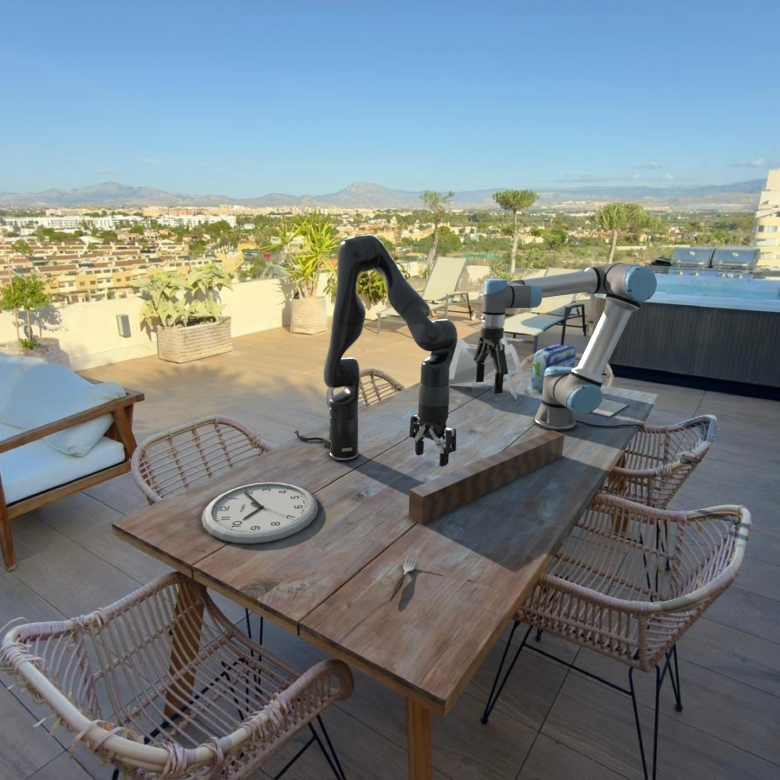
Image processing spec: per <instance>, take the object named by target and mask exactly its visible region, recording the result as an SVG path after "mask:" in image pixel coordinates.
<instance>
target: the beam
mask: <svg viewBox="0 0 780 780" xmlns="http://www.w3.org/2000/svg"><path fill="white" fill-rule="evenodd" d="M565 436H566V434H564V433H561V432H560V431H554V430H549V431H547V432H544V433H541V434H539V435H536V436H534V437H532V438H529V439H527V440H525V441H522V442H520V443H518V444H515V445H513V446H510V447H507V448H506V449H503V450H501V451H499V452H496V453H493V454H491V455H488V456H486V457H484V458H481V459H479V460H477V461H475V462H472V463H470V464H468V465H465V466H463V467H460V468H458V469H455V470H453V471H451V472H448V473H446V474H443V475H441V476H439V477H436V478H434V479H432V480H429V481H426V482H424V483H422V484H420V485H417V486H415V487H411V488H410V489H409V493H408V517H409V518H410V519H412V520H414V521H415V522H417V523H418V524H419V525H424V524H426V523H429V522H430V521H432V520H434V519H436V518H438V517H441V516H442V515H444V514H446V513H449V512H451V511H453V510H455V509H456V508H459V507H461V506H463V505H465V504H467V503H470V502H471V501H473V500H476V499H477V498H480V497H481V496H484V495H485V494H487V493H490V492H492V491H494V490H496V489H498V488H500V487H502V486H505V485H506V484H508V483H510V482H513V481H514V480H516V479H518V478H520V477H521V478H522V476H524V475H526V474H529V473H531V472H533V471H535V470H537V469H539V468H542V467H543V466H545V465H547V464H549V463H551V462H553V461H556V460H558V459H559V458H562V457H563V454H564V445H565Z"/></svg>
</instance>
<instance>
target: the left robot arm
mask: <svg viewBox="0 0 780 780" xmlns="http://www.w3.org/2000/svg"><path fill="white" fill-rule="evenodd" d="M336 269H337V273H336V278H337V279H336V289H335V300H334V306H333V311H332V319H331V329H330V337H329V344H328V347H327V348H328V349H327V353H326V357H325V361H324V366H323V381H324V384H325V385H326V387H328V388H330V389H341V388H344V389H342V390H341V391H340V392H339V393H336V394H334V395H332V396H331V397H330V398H329V402H328V405H329V406H328V408H329V409H328V410H329V427H328V438H327V439H325V438H323V437H319V436H316V437H301V436H300V433H299V430H297V429H296V430H294V432H293V434H295V435H296V437H297V438H298V439H299V440H301V441H322V442H323V447H324V448H326V447H327V448H328V449H329V457H330V459H332V460H334V461H337V462H351V461H353V460H356V459H357V458H358V457H359V399H360V397H359V396H360V395H359V394H360V375H361V373H360V371H361V369H360V364H359V362H358V360H357V358H355V357H343V356H344V355H345V354H346V352H347V351H348V350H349V349H350V348H351V347H352V346H353V344H354V343H356V341H357V340H358V339H359V338H360V336H361V335H362V333H363V330H364V326H365V321H366V316H367V315H366V313H367V312H366V307H365V305H364V303H363V301H362V298H361V297H360V295H359V294H358V291H357V286H358V285H357V284H358V278H359V275H360V274H362V273H366V272H371V271H376V272H377V273H378V274H379V275H380V276H381V277H382V278H383V280H384V282H385V290H386V296H387V300H388V302H389V304H390V306H391V307H392V309H393V310H394V312H395V313H397V314H398V316H399V317H400V318H401V319H402V320H403V321H404V322H405V324H406V326H407V328H408V331H409V332H410V335H411V336H412V339H413V341H414V342H415V344H416V345H417V346H418V347H419V348H420V349H422V350H423V351H425V352H430V354H429V356H428V357H426V358H424V360H423V361H422V362H421V363H420V364H421V365H420V378H419V379H420V382H419V383H420V384H419V389H418V408H417V409H418V411H417V414H415V415H411V416H410V422H409V437H410V438H411V439H412V438H413V440H414V445H415V446H414V452H415V455H416V456H422V455H423V454H424V451H425V449H424V448H425V441H424V439H430V440H431V441H433V442H434V443H435V445H436V447H438V449H439V451H440V452H439V463H438V465H439V467H441V468H444V467H445V466H447V465H448V464H449V460H450V459H449V458H450V454H451V453H453V452H456V451H457V429H456V428H455V427H454V428H449V427H447V420H448V419H449V409H450V385H449V369H450V365H451V362H452V359H453V355H454V352H455V348H456V345H457V339H458V337H459V336H458V330H457V327H456V325H455V323H454V322H453V321H452V320H450V319H446V318H442V319H435V320H430V318H429V316H430V314H431V307H430V305H429V304H428V303H427V302H426V300H425V299H424V298H423V297H422V296H421V295H420V294H419V293H418V291H416V289H415V288H414V287H413V286H412V285H411V284H410V282H408V280H407V279H406V277H405V276H404V274H403V272H402V271H401V270H400V268H399V266H398V264H397V263H396V262H395V260H394V258H393V257H392V255H391V254H390V252H389V251H388V250H387V248H386V246H385V245H384V243H383V242H382V241H381V239H380V238H378V237H377V236H376V235H374V234H361V235H358V236H353V237H352V236H351V237H348V238H345V239H343V240H342V241H341V242H340V244H339V248H338V252H337V268H336ZM440 439H441V440H440Z"/></svg>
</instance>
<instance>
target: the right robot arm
mask: <svg viewBox="0 0 780 780" xmlns="http://www.w3.org/2000/svg"><path fill="white" fill-rule="evenodd" d="M657 286H658V280H657V277H656V274H655V272H654V271H653V270H652V268H650V267H648V266H645V265H642V264H634V263H633V264H632V263H623V262H613V263H607V264H602V265H596V266H590V267H586V269H584V270H583V271H582V270H581V271H575V272H568V273H559V274H552V275H545V276H536V277H530V278H521V279H515V280H508V279H504V278H488V279H486V280H485V281H484V283H483V290H482V309H481V317H480V320H481V327H480V336H479V337H478V343H477V345H476V346H477V350H476V353H475V356H474V361H476V364H477V369H476V382H477V383H484V378H485V377H484V367H485V364H482V363H484V362H485V359H486V357H487V356H488V354H490V356H491V357H492V359H493V362H494V366H495V369H494V370H495V373H494V383H493V384H494V385H493V394H494V395H498V394H503V388H504V387H503V386H504V376H505V374H508V369H507V365H508V362H507V363H506V356H505V345H504V344H502V343H500V341H501V339H502V338H503V335H504V334H505V328H504V326H505V320H506V309H535V308H538V307H540V305H541V304H542V300H543V299H544V298H552V297H560V296H567V295H575V294H582V293H586V294H587V295H597V294H598V295H605V297H604V299H605V301H606V305H605V307H604V310H603V312H602V314H601V315H600V318H599V320H598V322H597V324H596V326H595V329H594V331H593V333H592V335H591V337H590V339H589V341H588V344H587V345H586V348H585V349H584V352H583V354H582V356H581V359H580V361H579V363H578V365H577V366H576V367H574V368H572V367H559V366H558V367H548V368H547V369H546V370H545V373H544V382H543V391H541V393H542V394H541V402H540V405H539V407H538V410H537V411H536V413H535V415H534V424H535V425H536V426H537V427H539V428H542V429H544V430H549V431H551V430H553V431H556V432H567V431H572V430H574V429H575V428H576V423H577V424H582V425H585V426H591V427H596V428H607V429H609V428H610V429H611V428H613V429H614V428H620V427H639V428H640V429H641V430H645V427H644V426H642V425H641V424H638V423H633V424H632V423H630V424H627V423H624V424H623V423H622V424H616V425H614V424H613V425H602V424H595V423H588V422H585V421H581V420H578V419H576V418H575V417H576V416H575V414H578V415H587V414H590V413H592V412H593V411H594V410H596V409H597V408H598V407H599V405H600V404H601V401H602V399H603V392H602V390H601V388H602V386H603V384H604V381H603V378H602V375H603V373H604V371H605V369H606V367H607V365H608V363H609V361H610V359H611V356H612V355H613V353H614V350H615V348H616V346H617V344H618V343H619V340H620V338H621V336H622V334H623V332H624V330H625V328H626V326H627V324H628V321H629V319H630V317H631V315H632V313H634V312H636V311H638V310H639V309H640V308H641V306H642V303H644V302H647V301H648V300H650V299H651V298H652V297H654V295H655V294H656V293H655V292H656V290H657V288H658V287H657ZM500 351H501V352H500ZM504 370H505V371H504Z"/></svg>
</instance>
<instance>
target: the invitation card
mask: <svg viewBox="0 0 780 780" xmlns="http://www.w3.org/2000/svg"><path fill="white" fill-rule="evenodd" d="M628 406H629V404H627V403H623V402H618V401H614V400H609V399H605V398H602V401H601V404H600V405H599V407H598V408H597V409H596V410H594V411H593V412H591V413H593V414H596V415H600V416H604V417H608V418H609V417H611V416H613V415H614V414H616V413H617V412H619V411H621V410H623V409H624V408H626V407H628Z"/></svg>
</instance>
